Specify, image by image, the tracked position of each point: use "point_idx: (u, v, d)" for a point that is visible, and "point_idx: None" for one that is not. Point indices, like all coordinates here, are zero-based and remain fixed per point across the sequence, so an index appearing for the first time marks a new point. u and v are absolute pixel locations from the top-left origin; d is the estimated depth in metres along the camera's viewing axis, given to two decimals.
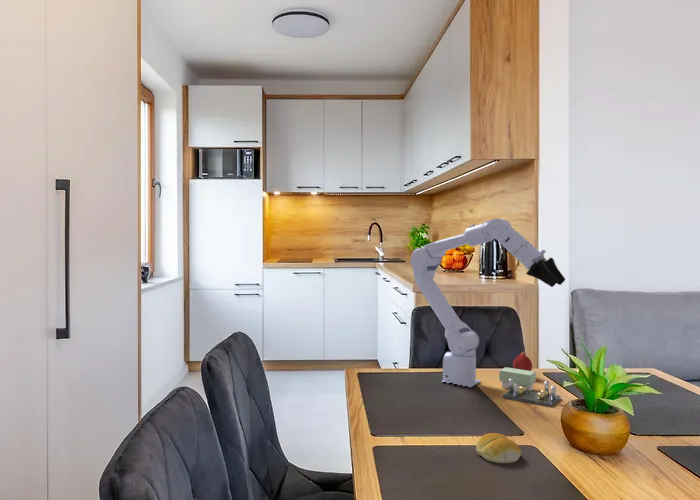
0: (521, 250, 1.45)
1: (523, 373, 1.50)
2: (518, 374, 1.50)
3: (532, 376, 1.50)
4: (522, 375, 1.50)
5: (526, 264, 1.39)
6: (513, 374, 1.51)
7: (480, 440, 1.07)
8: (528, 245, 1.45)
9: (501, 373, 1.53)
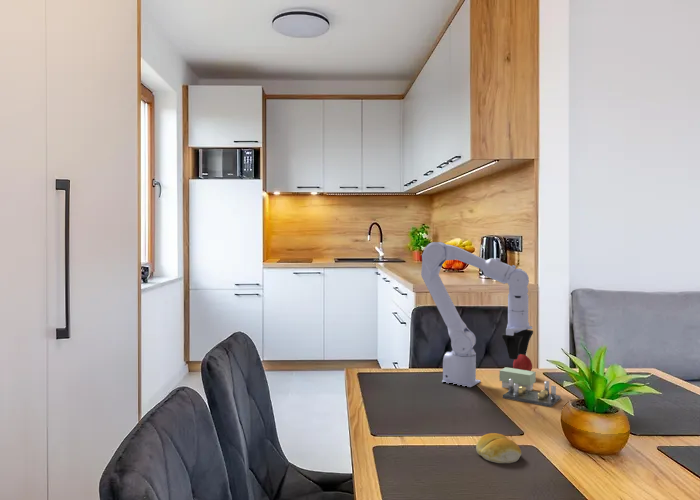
0: (516, 313, 1.50)
1: (523, 373, 1.50)
2: (518, 374, 1.50)
3: (532, 376, 1.50)
4: (522, 375, 1.50)
5: (507, 331, 1.47)
6: (513, 374, 1.51)
7: (480, 440, 1.07)
8: (524, 315, 1.50)
9: (501, 373, 1.53)
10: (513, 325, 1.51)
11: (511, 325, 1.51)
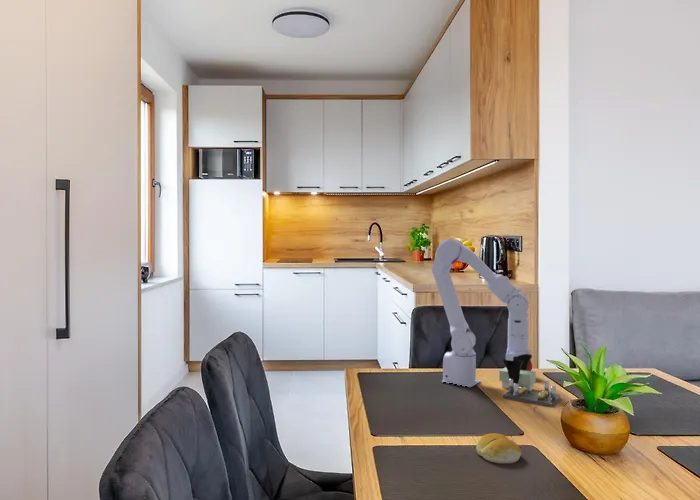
0: (515, 338, 1.50)
1: (523, 373, 1.50)
2: None
3: (532, 376, 1.50)
4: (522, 375, 1.50)
5: (507, 356, 1.47)
6: None
7: (480, 440, 1.06)
8: (524, 339, 1.50)
9: (501, 373, 1.53)
10: (513, 350, 1.51)
11: (511, 349, 1.51)
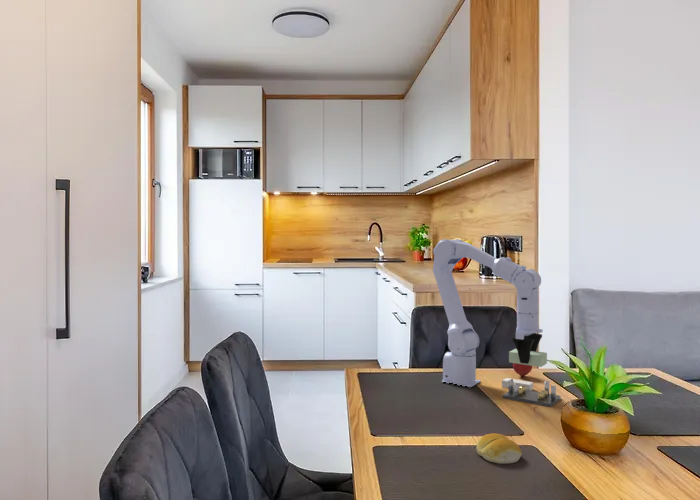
0: (525, 316, 1.44)
1: (534, 354, 1.44)
2: None
3: (544, 357, 1.44)
4: (533, 356, 1.43)
5: (517, 335, 1.41)
6: None
7: (480, 440, 1.06)
8: (534, 318, 1.44)
9: (511, 354, 1.47)
10: (523, 328, 1.44)
11: (520, 328, 1.45)
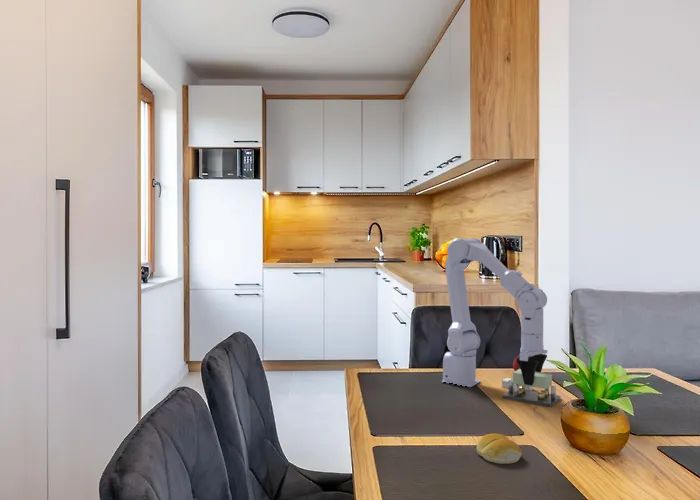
0: (530, 337, 1.40)
1: (538, 375, 1.40)
2: None
3: (549, 378, 1.40)
4: (537, 378, 1.40)
5: (521, 356, 1.37)
6: None
7: (481, 441, 1.06)
8: (539, 338, 1.40)
9: (515, 375, 1.43)
10: (527, 349, 1.41)
11: (525, 349, 1.41)
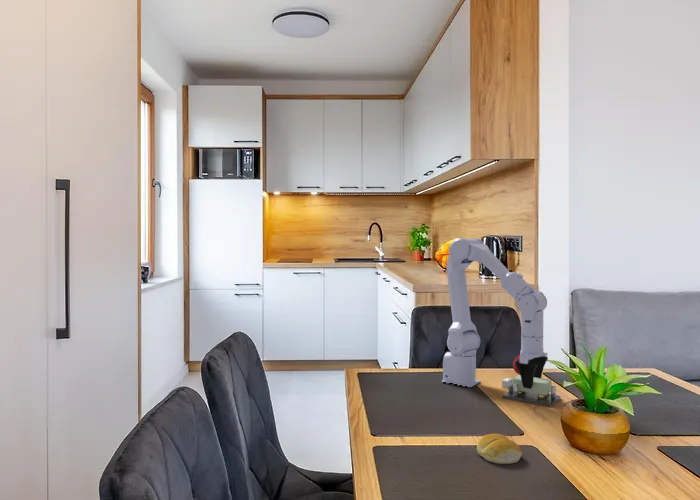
0: (530, 340, 1.40)
1: (538, 381, 1.40)
2: (533, 383, 1.40)
3: (548, 384, 1.40)
4: (537, 384, 1.40)
5: (521, 359, 1.37)
6: None
7: (481, 441, 1.06)
8: (539, 341, 1.40)
9: (515, 381, 1.43)
10: (527, 352, 1.41)
11: (525, 352, 1.41)
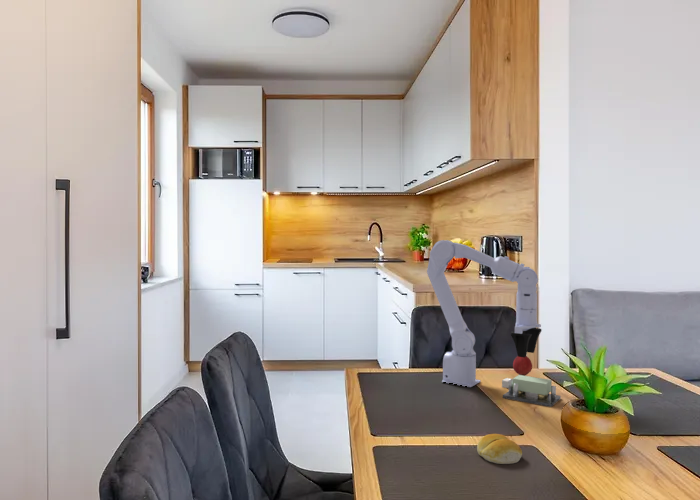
0: (524, 312, 1.50)
1: (538, 381, 1.40)
2: (533, 383, 1.40)
3: (548, 384, 1.40)
4: (537, 384, 1.40)
5: (516, 329, 1.47)
6: (528, 382, 1.41)
7: (481, 441, 1.06)
8: (533, 313, 1.50)
9: (515, 381, 1.43)
10: (522, 323, 1.51)
11: (520, 323, 1.51)
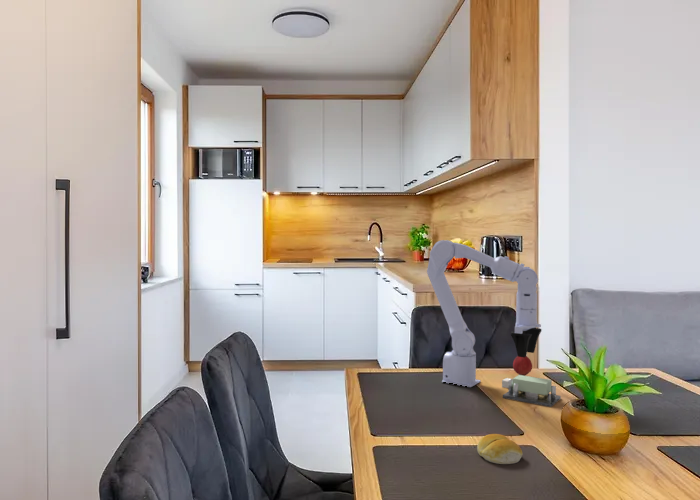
0: (524, 312, 1.50)
1: (538, 381, 1.40)
2: (533, 383, 1.40)
3: (548, 384, 1.40)
4: (537, 384, 1.40)
5: (516, 329, 1.47)
6: (528, 382, 1.41)
7: (481, 441, 1.06)
8: (533, 313, 1.50)
9: (515, 381, 1.43)
10: (522, 323, 1.51)
11: (520, 323, 1.51)
